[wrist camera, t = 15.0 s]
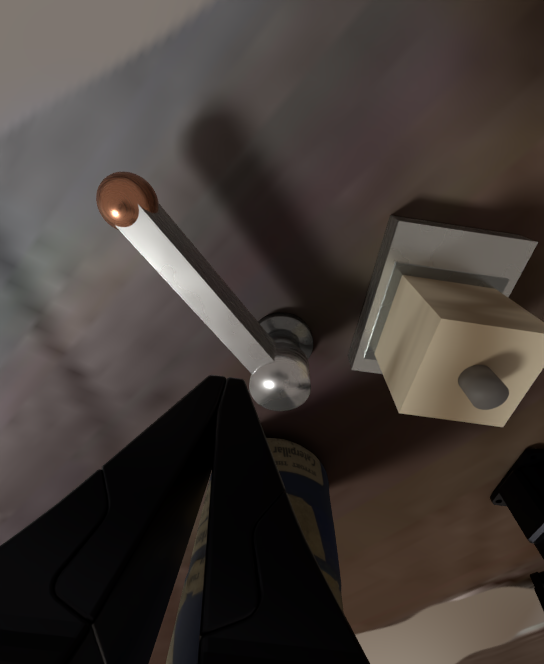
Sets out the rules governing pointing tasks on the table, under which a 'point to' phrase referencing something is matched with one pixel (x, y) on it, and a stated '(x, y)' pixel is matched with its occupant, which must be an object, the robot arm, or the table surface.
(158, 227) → the lever
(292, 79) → the table surface
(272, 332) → the grey metal flanged disc
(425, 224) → the plate
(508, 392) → the block
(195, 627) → the canister
